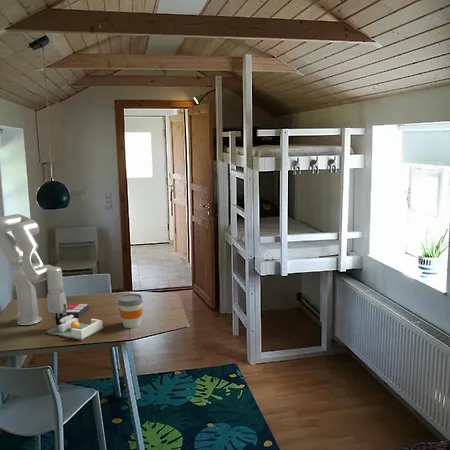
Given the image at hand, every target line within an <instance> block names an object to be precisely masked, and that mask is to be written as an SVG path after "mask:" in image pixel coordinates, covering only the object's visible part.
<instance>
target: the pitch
mask: <svg viewBox="0 0 450 450" xmlns="http://www.w3.org/2000/svg"><path fill="white" fill-rule="evenodd" d="M79 324H80V326H79V328H78V329H80V330H81V329H83V328H85V327H87V326H89V325H90V324H87V323H82V322H79ZM103 330H104V327H103V328H101V329H99V330H97V331H96V332H94V333H92V334H90V335H88V336H86V337H84V338H82V339H81V338H76V337H72V330H71V328H70V329H68V330H66V331H64V332H60V331H59V325H56V326H55V327H53V328H51V329H48V330H46V331H45V333H46V332H49V333H53V334H57V335H62V336H66V337H70V338H74V339H78V340H77V341H79V340H83V339H84V340H86V339H88V338H90V337H91V335H92V336H94V335H95V333H96V334H97V333H99V332H101V331H103ZM93 334H94V335H93ZM89 336H90V337H89ZM87 337H88V338H87ZM85 338H86V339H85ZM74 339H73V340H74ZM84 340H83V341H84Z"/></svg>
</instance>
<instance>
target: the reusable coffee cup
mask: <svg viewBox="0 0 450 450" xmlns="http://www.w3.org/2000/svg"><path fill="white" fill-rule="evenodd" d="M143 301H144V300H143V296H142V295H141V294H138V293H127V294H123V295H121V296H119V297H118V301H117V302H118V304H117V305H118V306H119V314H120V318H121V319H122V320H121V321H122V324H123V327H124V328H127V329H133V328H137V327H140V326H141V323H142V316H143Z"/></svg>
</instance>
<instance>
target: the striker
mask: <svg viewBox="0 0 450 450" xmlns="http://www.w3.org/2000/svg"><path fill="white" fill-rule="evenodd" d="M73 321H77V322H79V318H73V315H69V316H66V317H63V318H61V320H60V322H62V324H61V325H58V326H59V331H60V332H64V331H66V330H68V329H70V328H71V323H72V322H73Z"/></svg>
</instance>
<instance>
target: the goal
mask: <svg viewBox="0 0 450 450" xmlns="http://www.w3.org/2000/svg"><path fill="white" fill-rule="evenodd" d="M88 325H89V326H87V327H85V328H83V329H81V330H80V329H75V328H73V329H71V330H72V337H76V338H81V339H82V338H84V337H86V336H88V335H90V334H92V333H94V332H96V331H97V330H99V329H101V328H103V329H104V325H103V320H102V319H96V318H91V319H90V324H88Z"/></svg>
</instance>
